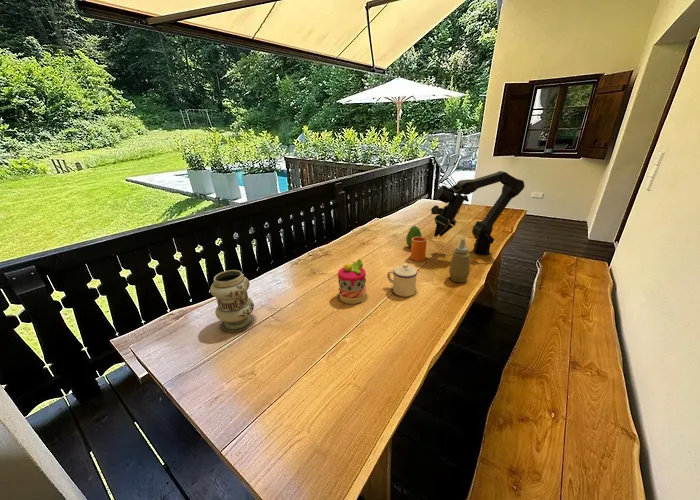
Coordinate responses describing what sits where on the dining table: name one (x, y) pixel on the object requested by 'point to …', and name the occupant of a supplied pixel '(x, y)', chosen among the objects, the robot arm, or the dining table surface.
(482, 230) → the robot arm
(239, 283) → the apothecary jar
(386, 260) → the dining table surface
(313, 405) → the dining table surface
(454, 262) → the squeeze bottle
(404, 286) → the teacup with lid
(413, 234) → the avocado
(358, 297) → the cake
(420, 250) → the orange cup
